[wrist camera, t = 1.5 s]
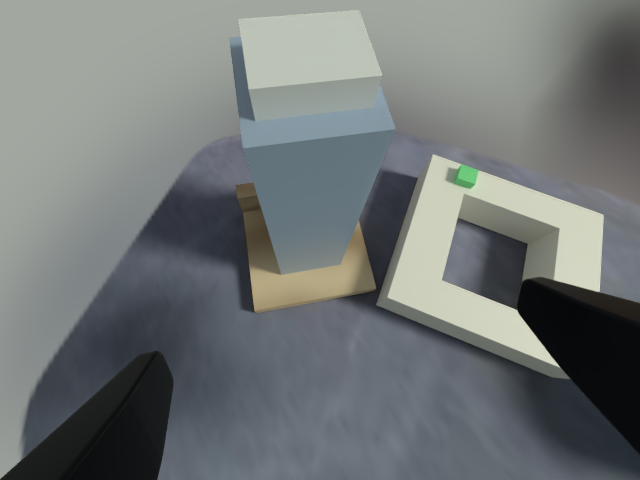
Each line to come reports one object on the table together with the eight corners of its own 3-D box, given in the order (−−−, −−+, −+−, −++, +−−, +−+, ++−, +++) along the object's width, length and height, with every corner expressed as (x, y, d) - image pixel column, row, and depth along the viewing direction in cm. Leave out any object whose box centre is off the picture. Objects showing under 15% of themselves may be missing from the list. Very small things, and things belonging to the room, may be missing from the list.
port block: (551, 377, 19) (605, 382, 16) (375, 305, 20) (390, 295, 17) (566, 231, 23) (612, 210, 19) (418, 177, 24) (436, 148, 21)
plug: (340, 264, 20) (407, 99, 7) (281, 275, 20) (234, 118, 6) (328, 211, 21) (366, -11, 8) (273, 220, 21) (220, -1, 8)
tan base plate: (373, 291, 20) (384, 281, 18) (256, 313, 20) (248, 306, 17) (347, 190, 23) (353, 168, 20) (244, 206, 22) (235, 185, 19)
